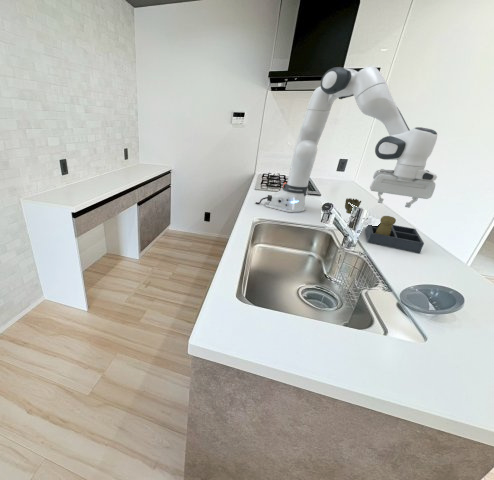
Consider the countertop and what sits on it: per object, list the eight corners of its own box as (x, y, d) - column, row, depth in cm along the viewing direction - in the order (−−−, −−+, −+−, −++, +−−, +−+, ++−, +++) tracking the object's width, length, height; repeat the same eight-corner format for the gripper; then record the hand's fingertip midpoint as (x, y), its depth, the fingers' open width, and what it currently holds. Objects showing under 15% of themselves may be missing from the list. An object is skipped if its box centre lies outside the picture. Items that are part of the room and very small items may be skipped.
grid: (367, 242, 115) (371, 233, 113) (365, 229, 129) (368, 220, 127) (419, 253, 107) (424, 243, 105) (411, 237, 121) (415, 228, 119)
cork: (391, 243, 113) (401, 219, 109) (375, 241, 115) (385, 218, 110) (384, 237, 119) (393, 215, 114) (369, 236, 120) (378, 213, 115)
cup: (359, 215, 147) (364, 202, 143) (346, 215, 147) (351, 201, 143) (351, 211, 154) (356, 198, 150) (339, 210, 154) (343, 197, 150)
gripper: (376, 169, 106) (364, 201, 112) (442, 177, 96) (425, 212, 103) (375, 167, 111) (364, 198, 117) (438, 174, 101) (422, 207, 107)
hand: (393, 204), depth 110 cm, fingers open, 8 cm apart
